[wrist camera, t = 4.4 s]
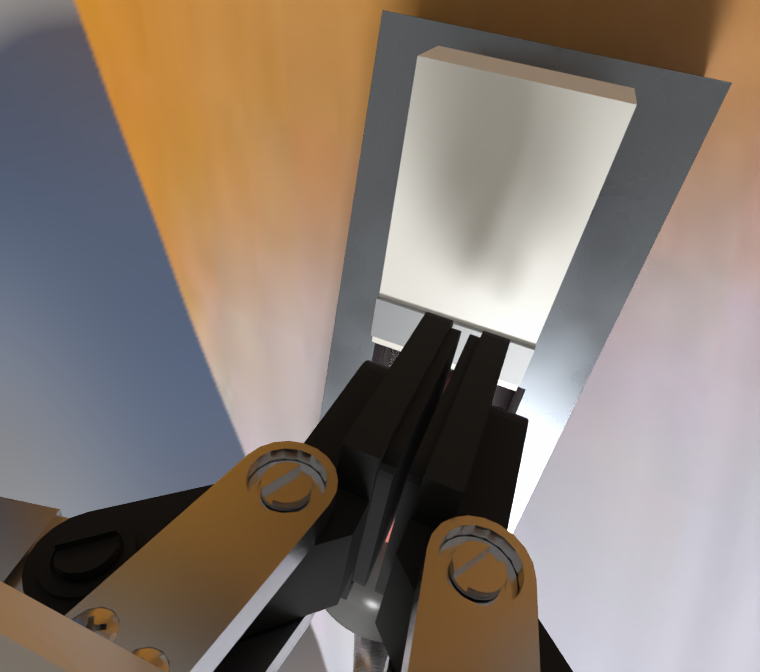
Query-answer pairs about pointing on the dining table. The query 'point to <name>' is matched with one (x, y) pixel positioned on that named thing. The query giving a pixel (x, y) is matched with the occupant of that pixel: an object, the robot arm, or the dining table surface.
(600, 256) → the panel
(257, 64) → the dining table surface
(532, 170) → the block
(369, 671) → the toggle
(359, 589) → the button
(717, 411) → the dining table surface
